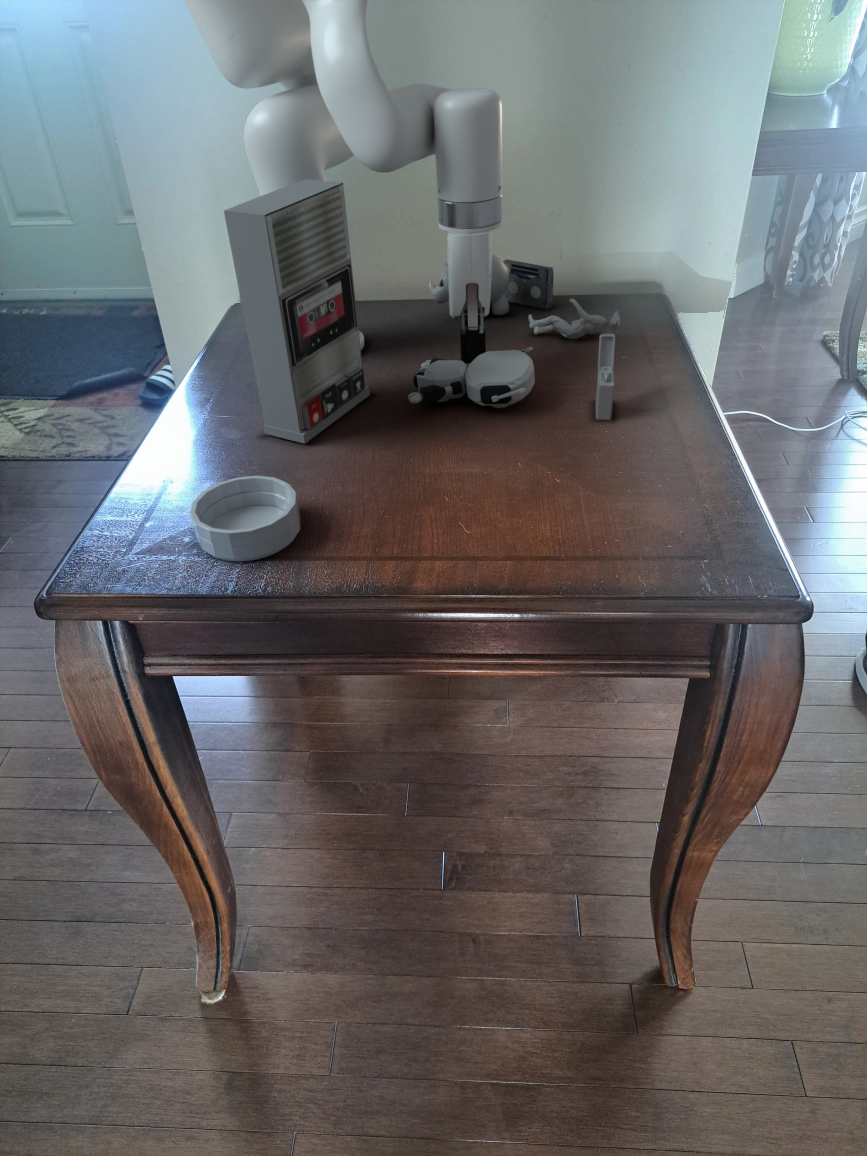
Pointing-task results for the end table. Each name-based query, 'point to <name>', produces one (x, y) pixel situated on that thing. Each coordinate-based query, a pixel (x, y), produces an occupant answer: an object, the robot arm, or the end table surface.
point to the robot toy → (477, 379)
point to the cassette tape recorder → (299, 305)
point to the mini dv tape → (530, 284)
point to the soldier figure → (575, 324)
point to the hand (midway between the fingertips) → (473, 360)
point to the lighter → (605, 377)
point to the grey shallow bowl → (246, 518)
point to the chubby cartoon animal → (497, 287)
